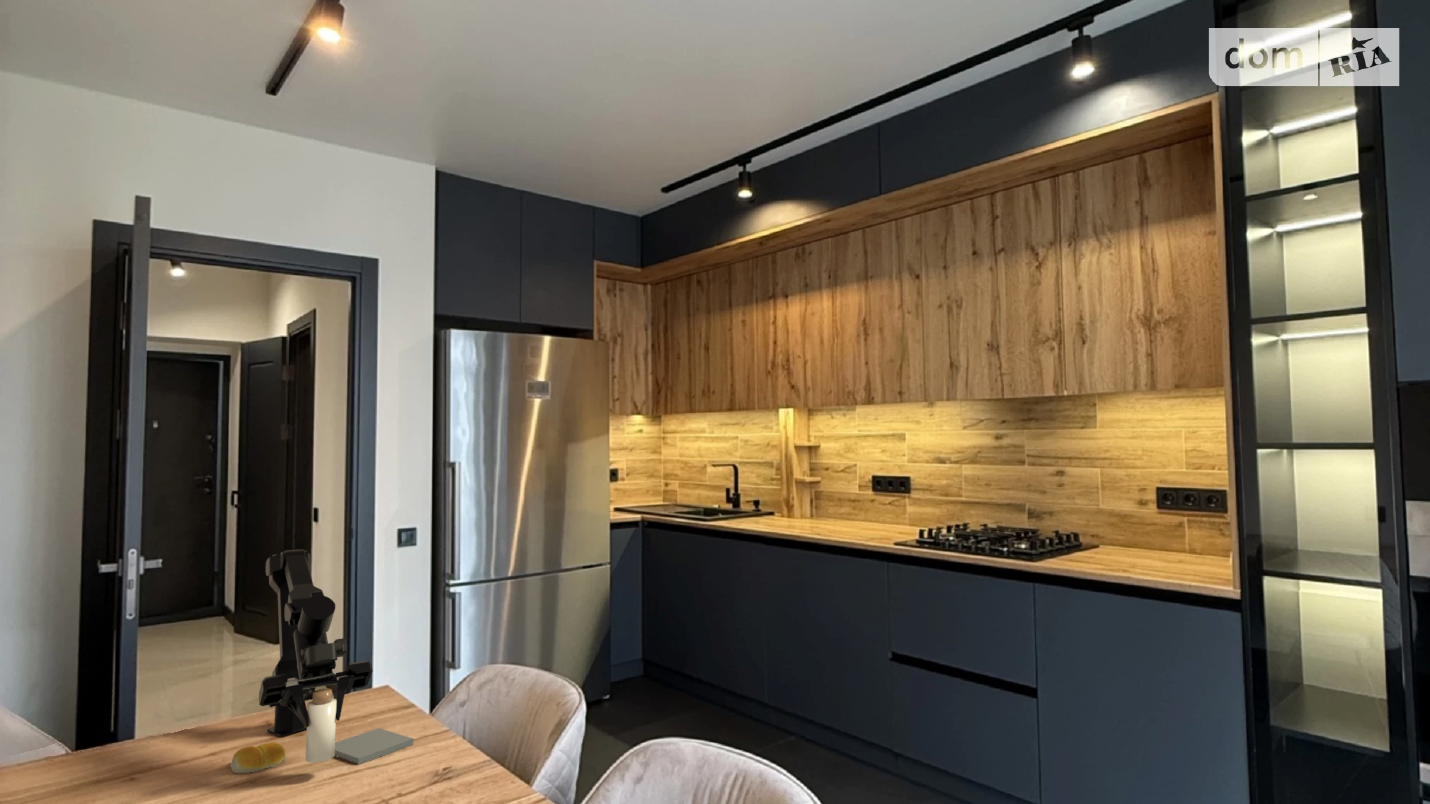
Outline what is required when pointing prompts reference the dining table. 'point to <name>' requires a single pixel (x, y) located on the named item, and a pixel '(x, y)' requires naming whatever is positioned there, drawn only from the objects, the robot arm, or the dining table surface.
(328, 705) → the lotion bottle
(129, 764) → the dining table surface
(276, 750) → the bread roll
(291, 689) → the robot arm
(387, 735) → the plate
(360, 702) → the dining table surface
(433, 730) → the dining table surface
